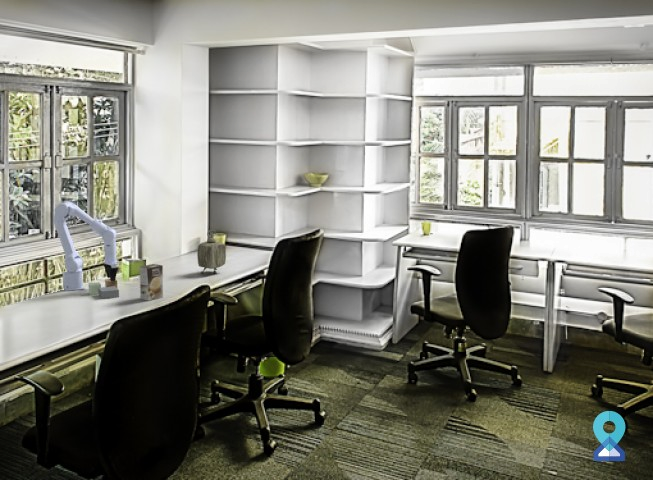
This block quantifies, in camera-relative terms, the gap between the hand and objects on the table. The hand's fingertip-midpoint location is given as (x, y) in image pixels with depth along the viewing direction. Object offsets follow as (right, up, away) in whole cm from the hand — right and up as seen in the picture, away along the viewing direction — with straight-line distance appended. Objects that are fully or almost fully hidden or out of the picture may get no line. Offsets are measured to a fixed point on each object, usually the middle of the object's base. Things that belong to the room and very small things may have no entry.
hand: (111, 279), depth 365 cm
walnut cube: (0, -5, +1) cm, 5 cm away
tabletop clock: (+45, +1, +42) cm, 61 cm away
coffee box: (+24, -9, -14) cm, 29 cm away
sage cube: (-6, -7, -8) cm, 12 cm away
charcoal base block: (+2, -8, -12) cm, 15 cm away
